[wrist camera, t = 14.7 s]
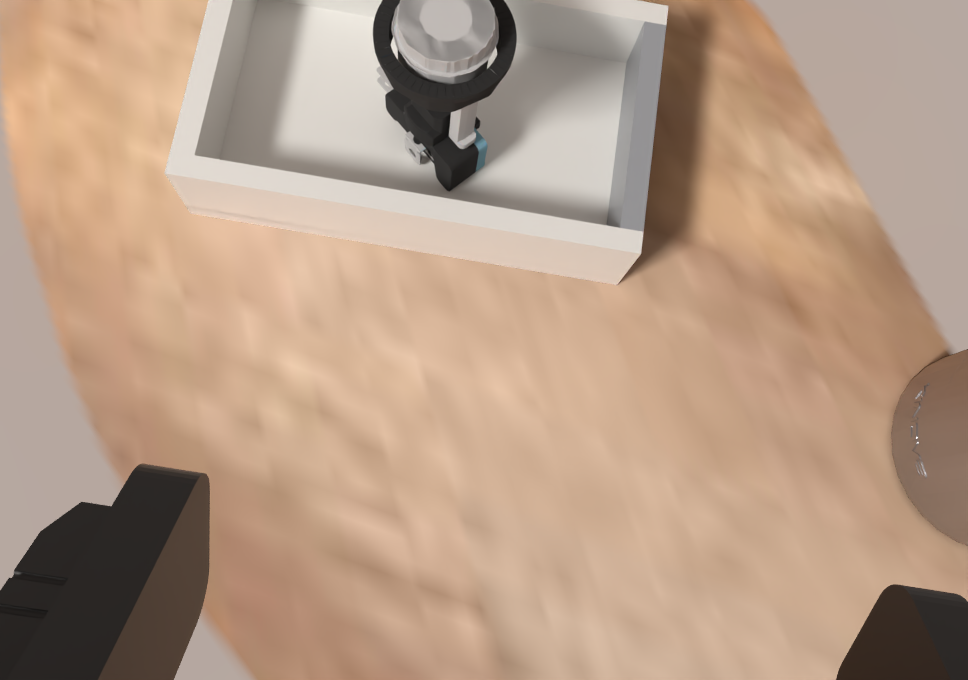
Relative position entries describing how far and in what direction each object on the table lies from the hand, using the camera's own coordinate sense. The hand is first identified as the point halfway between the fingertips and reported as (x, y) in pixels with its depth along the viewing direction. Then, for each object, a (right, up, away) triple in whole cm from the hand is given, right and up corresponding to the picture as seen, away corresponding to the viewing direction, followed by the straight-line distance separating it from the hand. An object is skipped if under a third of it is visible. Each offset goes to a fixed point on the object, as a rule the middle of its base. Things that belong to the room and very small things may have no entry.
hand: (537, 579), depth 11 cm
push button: (-3, +13, +31) cm, 34 cm away
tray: (-3, +13, +32) cm, 35 cm away
